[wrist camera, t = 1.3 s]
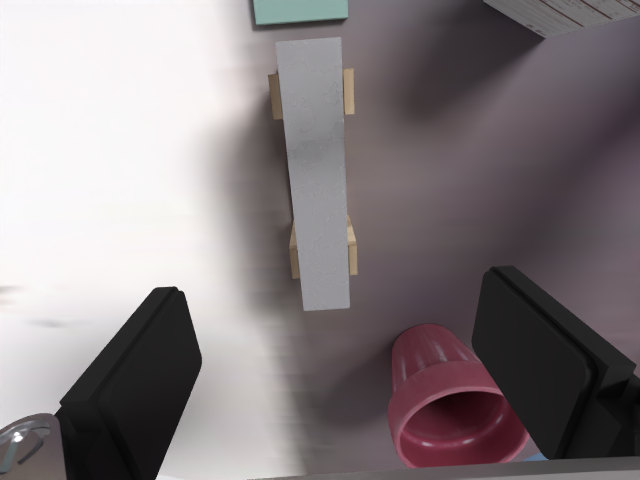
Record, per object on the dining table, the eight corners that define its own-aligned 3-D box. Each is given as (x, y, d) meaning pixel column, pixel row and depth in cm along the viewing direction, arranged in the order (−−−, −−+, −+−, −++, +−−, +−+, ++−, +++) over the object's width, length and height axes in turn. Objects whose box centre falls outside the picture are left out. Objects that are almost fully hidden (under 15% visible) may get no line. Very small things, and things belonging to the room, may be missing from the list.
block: (281, 51, 23) (275, 41, 19) (336, 47, 22) (340, 36, 19) (305, 285, 31) (303, 310, 27) (345, 283, 31) (349, 307, 27)
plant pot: (375, 308, 41) (399, 392, 29) (482, 304, 41) (550, 387, 29) (371, 387, 46) (390, 483, 35) (465, 383, 46) (516, 478, 35)
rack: (343, 57, 29) (353, 43, 22) (349, 251, 37) (358, 288, 30) (277, 62, 29) (264, 50, 22) (297, 254, 37) (293, 292, 30)
